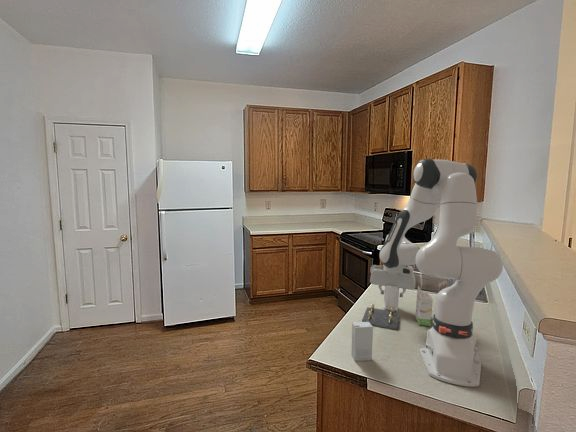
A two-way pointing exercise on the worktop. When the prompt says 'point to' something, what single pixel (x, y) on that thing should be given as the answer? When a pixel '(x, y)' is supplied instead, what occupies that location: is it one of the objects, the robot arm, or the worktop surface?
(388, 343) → the worktop surface
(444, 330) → the robot arm
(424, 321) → the ink box
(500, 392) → the worktop surface
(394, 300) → the can
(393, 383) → the worktop surface
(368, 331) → the skincare box
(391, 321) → the plate
